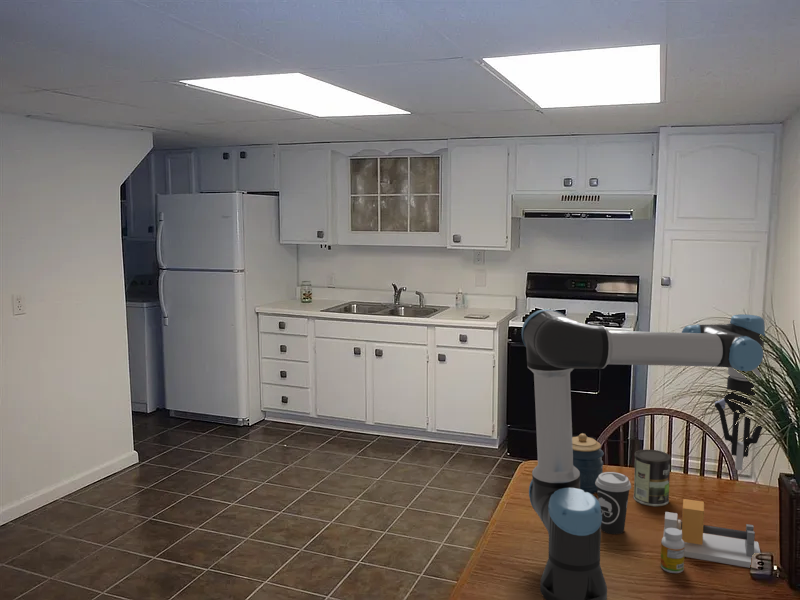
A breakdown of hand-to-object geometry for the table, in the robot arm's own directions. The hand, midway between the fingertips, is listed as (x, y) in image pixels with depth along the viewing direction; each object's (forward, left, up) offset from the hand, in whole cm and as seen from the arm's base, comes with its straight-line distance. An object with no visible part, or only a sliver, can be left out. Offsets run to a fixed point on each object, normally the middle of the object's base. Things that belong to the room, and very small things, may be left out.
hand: (738, 467), depth 174 cm
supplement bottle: (-13, +15, -24) cm, 30 cm away
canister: (+29, +43, -24) cm, 57 cm away
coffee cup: (+3, +31, -24) cm, 39 cm away
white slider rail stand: (0, +6, -23) cm, 24 cm away
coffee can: (+27, +22, -24) cm, 42 cm away
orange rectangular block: (0, +10, -21) cm, 23 cm away
